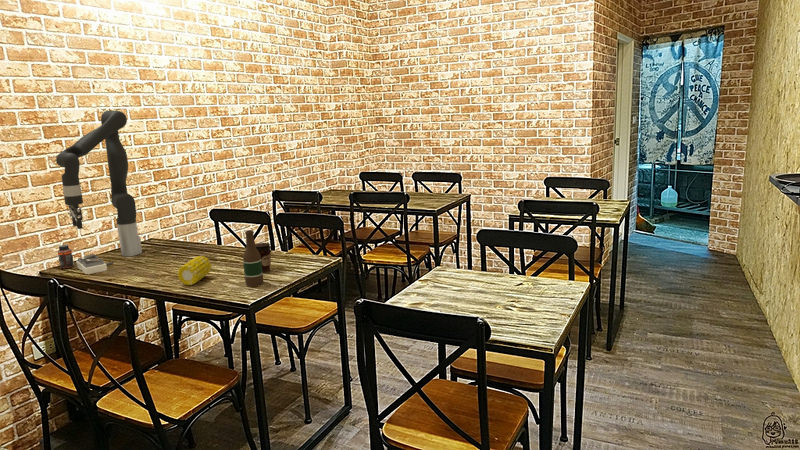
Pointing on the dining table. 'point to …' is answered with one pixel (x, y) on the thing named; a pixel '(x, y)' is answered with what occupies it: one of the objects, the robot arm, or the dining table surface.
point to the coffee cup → (264, 255)
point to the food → (194, 270)
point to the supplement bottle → (65, 257)
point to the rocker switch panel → (92, 266)
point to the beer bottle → (252, 262)
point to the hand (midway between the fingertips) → (77, 227)
